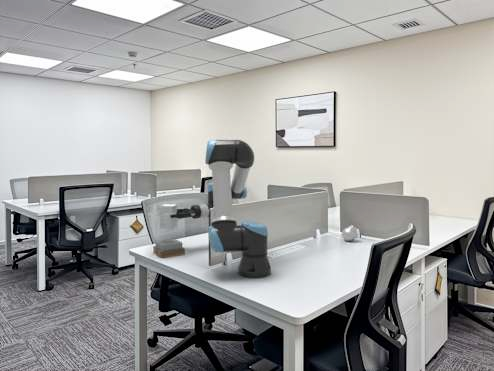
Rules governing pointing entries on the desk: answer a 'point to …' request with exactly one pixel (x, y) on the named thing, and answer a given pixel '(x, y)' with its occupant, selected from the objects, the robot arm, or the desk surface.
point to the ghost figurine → (349, 233)
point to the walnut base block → (168, 252)
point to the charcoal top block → (168, 244)
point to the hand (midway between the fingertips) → (160, 215)
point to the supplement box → (167, 223)
